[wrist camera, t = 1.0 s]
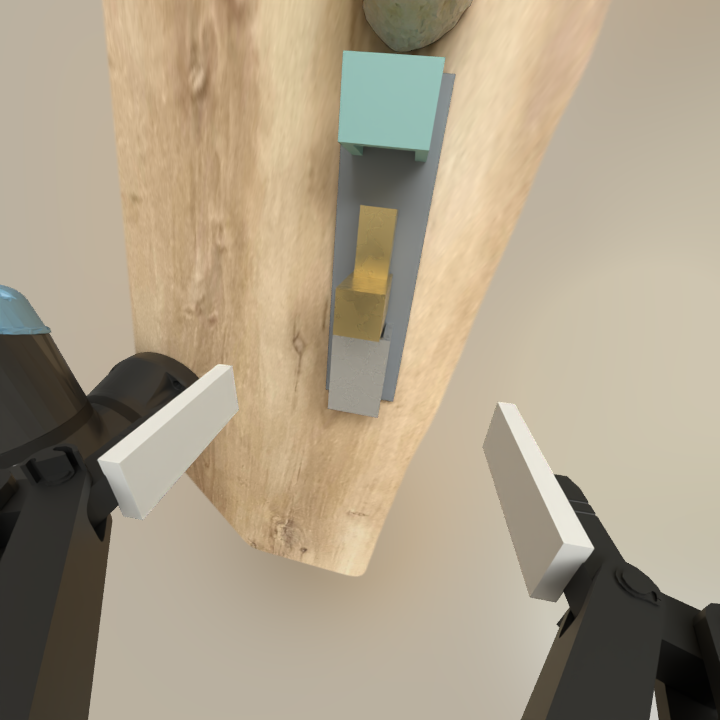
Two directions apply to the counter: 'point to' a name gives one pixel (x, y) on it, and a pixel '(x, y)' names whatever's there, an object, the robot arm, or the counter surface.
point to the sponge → (412, 20)
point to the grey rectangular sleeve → (358, 373)
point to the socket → (388, 101)
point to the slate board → (413, 199)
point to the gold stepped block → (367, 277)
